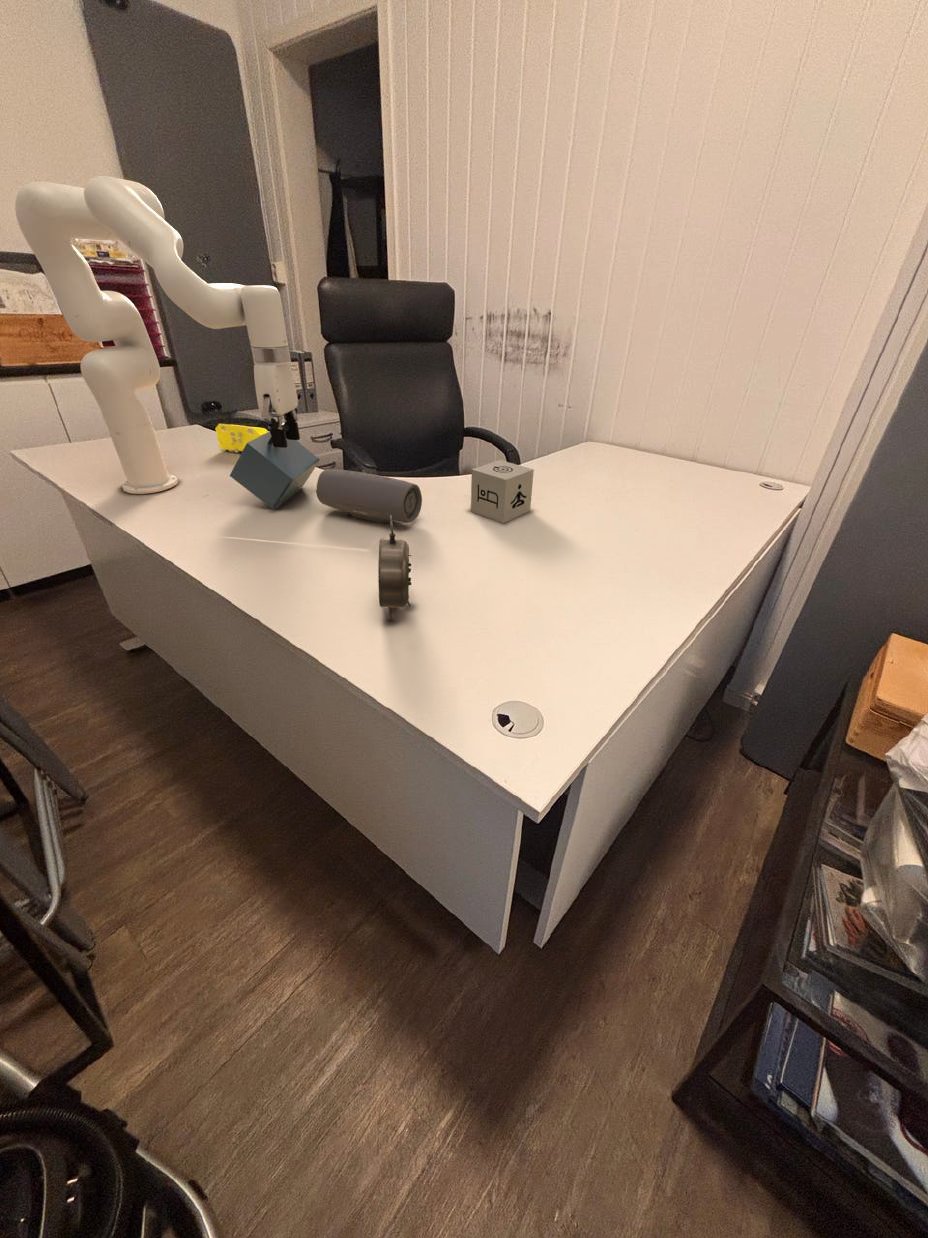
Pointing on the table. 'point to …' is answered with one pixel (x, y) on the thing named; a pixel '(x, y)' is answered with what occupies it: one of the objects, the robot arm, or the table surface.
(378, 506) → the bluetooth speaker
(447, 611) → the table surface
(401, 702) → the table surface
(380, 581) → the alarm clock
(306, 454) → the blue-grey square box
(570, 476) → the table surface
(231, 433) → the yellow toy chassis
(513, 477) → the icon cube
